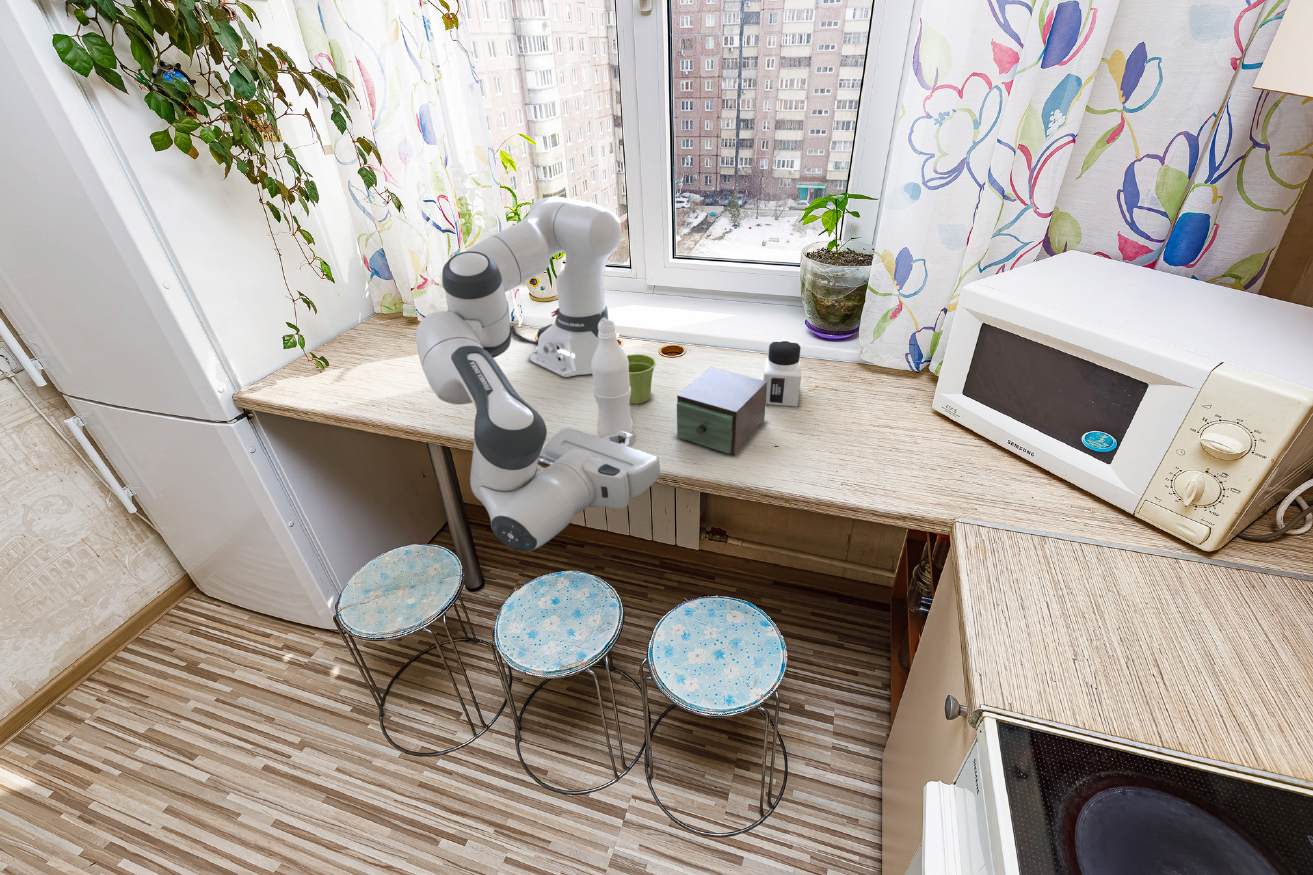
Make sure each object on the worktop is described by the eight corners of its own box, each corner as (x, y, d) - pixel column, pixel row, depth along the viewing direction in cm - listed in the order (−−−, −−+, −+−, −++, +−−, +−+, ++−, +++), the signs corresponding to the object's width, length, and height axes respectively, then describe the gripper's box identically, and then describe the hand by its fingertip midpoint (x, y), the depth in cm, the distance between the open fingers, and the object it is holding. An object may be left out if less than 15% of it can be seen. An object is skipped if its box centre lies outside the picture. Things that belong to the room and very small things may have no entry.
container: (797, 407, 130) (803, 352, 123) (761, 404, 132) (765, 350, 125) (797, 390, 137) (803, 337, 130) (763, 387, 138) (767, 335, 131)
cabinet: (734, 455, 116) (736, 412, 111) (677, 437, 122) (677, 395, 117) (764, 422, 126) (767, 381, 120) (710, 407, 132) (711, 367, 126)
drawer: (726, 457, 114) (727, 421, 110) (674, 440, 120) (673, 405, 115) (757, 423, 124) (759, 389, 119) (707, 409, 129) (707, 376, 125)
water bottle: (617, 425, 127) (608, 313, 113) (641, 438, 122) (634, 322, 108) (591, 439, 122) (578, 324, 109) (614, 452, 118) (604, 335, 104)
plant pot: (607, 399, 136) (604, 364, 131) (636, 383, 142) (634, 350, 137) (636, 412, 131) (634, 377, 126) (665, 396, 136) (664, 361, 132)
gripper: (533, 473, 103) (583, 434, 113) (632, 512, 94) (677, 466, 103) (528, 443, 100) (580, 406, 109) (629, 480, 90) (676, 436, 100)
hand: (628, 435), depth 106 cm, fingers closed
